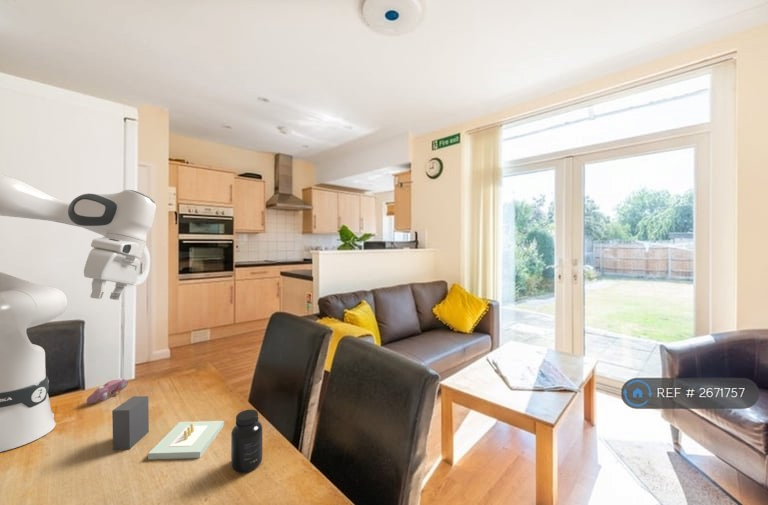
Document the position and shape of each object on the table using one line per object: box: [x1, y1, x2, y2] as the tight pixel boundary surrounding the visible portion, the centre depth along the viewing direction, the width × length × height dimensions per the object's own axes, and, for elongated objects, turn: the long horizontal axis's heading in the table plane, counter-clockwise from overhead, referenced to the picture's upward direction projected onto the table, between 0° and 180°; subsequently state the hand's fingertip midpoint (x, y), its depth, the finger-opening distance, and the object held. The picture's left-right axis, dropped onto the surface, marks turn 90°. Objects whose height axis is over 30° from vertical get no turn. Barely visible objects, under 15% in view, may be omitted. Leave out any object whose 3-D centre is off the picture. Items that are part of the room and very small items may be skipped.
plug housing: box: [111, 395, 150, 451], centre depth 82 cm, size 4×7×10 cm, turn 4°
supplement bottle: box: [230, 408, 263, 474], centre depth 74 cm, size 7×7×12 cm
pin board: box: [147, 420, 225, 460], centre depth 82 cm, size 12×13×4 cm
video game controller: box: [86, 377, 129, 405], centre depth 103 cm, size 10×5×7 cm, turn 169°
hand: (105, 298), depth 82 cm, fingers open, 8 cm apart
